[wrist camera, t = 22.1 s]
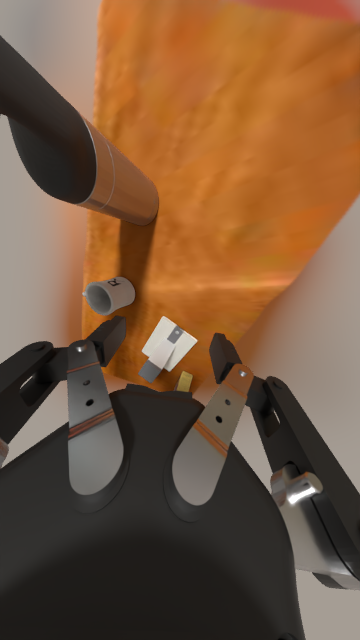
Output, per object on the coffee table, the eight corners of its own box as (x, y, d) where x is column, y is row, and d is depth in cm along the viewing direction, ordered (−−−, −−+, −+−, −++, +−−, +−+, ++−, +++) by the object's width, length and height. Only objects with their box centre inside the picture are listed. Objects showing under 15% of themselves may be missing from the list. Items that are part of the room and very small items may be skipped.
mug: (135, 278, 41) (110, 284, 33) (137, 306, 45) (115, 318, 37) (101, 273, 44) (70, 278, 36) (106, 300, 48) (79, 310, 40)
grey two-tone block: (157, 348, 49) (137, 373, 38) (164, 337, 46) (146, 361, 35) (167, 356, 49) (151, 383, 38) (175, 345, 46) (160, 372, 35)
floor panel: (142, 349, 53) (141, 351, 52) (163, 315, 44) (162, 317, 43) (170, 369, 53) (169, 372, 52) (197, 340, 43) (196, 342, 42)
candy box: (185, 389, 54) (171, 432, 41) (175, 384, 55) (159, 424, 42) (194, 375, 50) (181, 418, 37) (183, 369, 51) (167, 410, 37)
